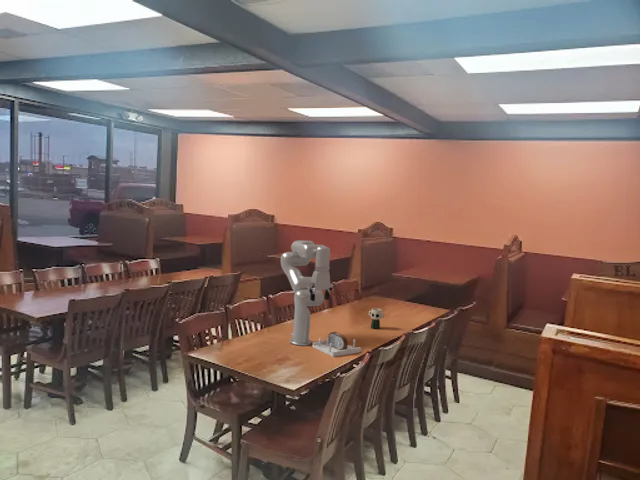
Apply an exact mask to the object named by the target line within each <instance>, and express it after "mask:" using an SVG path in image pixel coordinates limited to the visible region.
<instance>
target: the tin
mask: <svg viewBox="0 0 640 480" xmlns="http://www.w3.org/2000/svg"><path fill="white" fill-rule="evenodd" d="M327 337H329V343H332V346H333V347H335V348H337V349H338V342H340V346H339V350H345V349H346V348H347V346H348V345H349V344H348V342H347V341H348V339H347V337H346V336H345V334H342V333H340V332H337V331H332V332H330V333H329V334H328V336H327Z"/></svg>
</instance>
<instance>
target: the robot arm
mask: <svg viewBox="0 0 640 480" xmlns="http://www.w3.org/2000/svg"><path fill="white" fill-rule="evenodd" d="M290 250H291V251H287V252H286V251H285V252H283V253H282V254H281V255H280V267H281V269H282V271H283V272H284V275H286V276H287V280H288V281H289V285H290V287H291V288H292V290H293V292H295V293H294V295H293V300H294V316H293V330H292V331H293V332H292V333H290V336H291V338H290V339H289V343H290V344H292V345H295V346H300V347H301V346H302V347H303V346H304V347H305V346H309V345H311V344H312V340H310V329H311V315H312V314H311V310H310V309H309V308H308V307H317V306H321V305H322V304H323V303H324V302H325V301H324V300H327V301H329V300H330V294H331V291H332V290H333V287H334V283H332V282H331V276H330V275H331V274H330V269H331V267H330V262H331V261H330V260H331V259H330V257H331V249H330V248H329V246H326V245H325V244H315V242H314V241H312V240H303V239H302V240H299V239H298V240H294V241H293V242H292V244H291V246H290ZM312 259H315V263H314V265H315V266H314V271H313V272H312V275H311V276H304V275H302V272H301V270H300V269H299V268H298V267H297V266H302V267H303V266H307V265H308V264H309V263H310V262H311V260H312ZM323 291H324V293H323Z"/></svg>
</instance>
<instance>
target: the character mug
mask: <svg viewBox="0 0 640 480" xmlns="http://www.w3.org/2000/svg"><path fill="white" fill-rule="evenodd" d="M368 316H370V318H371V319H372V320H371V322H370V323H371V324H370V328H372V329H373V328H374V329H375V330H376V329H380V328H381V321H380V320H381V319H384V318H385V312H383V309H381V308H379V307H378V308H377V307H375V308H374V307H373V308H371V310H369V311H368Z"/></svg>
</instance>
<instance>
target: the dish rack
mask: <svg viewBox="0 0 640 480" xmlns="http://www.w3.org/2000/svg"><path fill="white" fill-rule="evenodd" d="M352 341H353V344H352V345H351V344H348V346H347V348H346V349H345V350H339V346H340V342H338V349H337V348H335V347H333V346H332V343H329V337H328V336H327V337H326V340H322V338H321V337H319V338H318V341H314V342H312V348H314V349H316V350H318V351H320V352H322V353H325V354H326V355H328V356H329V357H330V356H331V357H332V358H335V357H340V356H347V355H352V354H358V353H361V351H362V347H361V346H360V347H356V339H353V340H352ZM347 342H348V340H347Z"/></svg>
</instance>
